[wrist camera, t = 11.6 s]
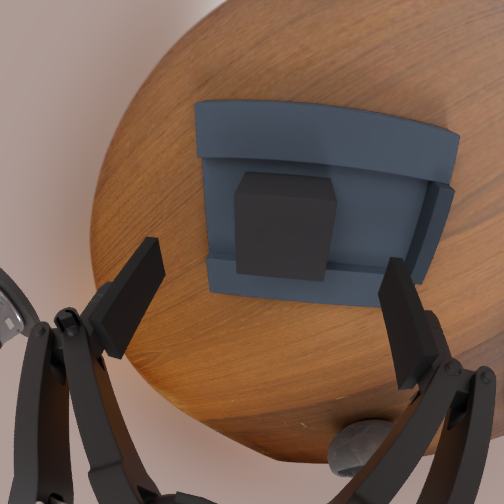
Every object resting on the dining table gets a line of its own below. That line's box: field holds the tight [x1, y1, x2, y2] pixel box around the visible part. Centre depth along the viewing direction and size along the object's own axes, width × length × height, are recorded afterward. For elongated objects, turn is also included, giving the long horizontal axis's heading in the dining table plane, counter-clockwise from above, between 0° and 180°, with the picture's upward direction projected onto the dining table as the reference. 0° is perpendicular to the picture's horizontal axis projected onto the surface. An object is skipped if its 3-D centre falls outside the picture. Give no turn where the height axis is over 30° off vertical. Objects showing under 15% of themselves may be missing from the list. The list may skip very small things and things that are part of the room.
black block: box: [234, 172, 337, 282], centre depth 19 cm, size 6×6×4 cm
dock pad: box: [194, 100, 460, 308], centre depth 20 cm, size 18×16×3 cm
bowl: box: [328, 419, 395, 477], centre depth 39 cm, size 15×15×10 cm
